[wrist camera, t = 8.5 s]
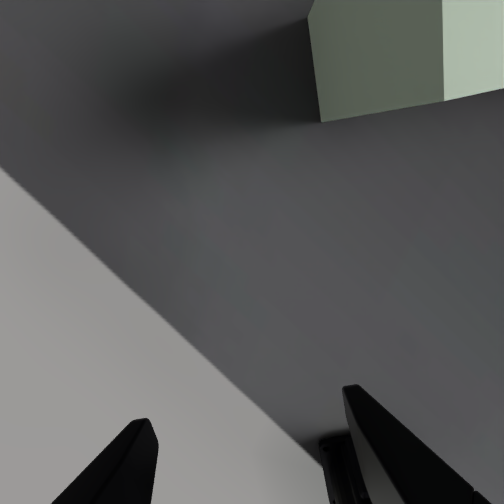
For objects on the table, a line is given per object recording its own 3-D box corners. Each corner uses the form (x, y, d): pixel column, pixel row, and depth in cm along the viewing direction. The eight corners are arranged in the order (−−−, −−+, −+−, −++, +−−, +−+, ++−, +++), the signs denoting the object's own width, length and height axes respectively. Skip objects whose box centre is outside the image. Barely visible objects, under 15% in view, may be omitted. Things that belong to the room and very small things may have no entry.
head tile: (345, 7, 16) (577, -324, 4) (355, 114, 18) (549, 78, 6) (307, 17, 16) (437, -282, 5) (321, 122, 18) (444, 101, 6)
